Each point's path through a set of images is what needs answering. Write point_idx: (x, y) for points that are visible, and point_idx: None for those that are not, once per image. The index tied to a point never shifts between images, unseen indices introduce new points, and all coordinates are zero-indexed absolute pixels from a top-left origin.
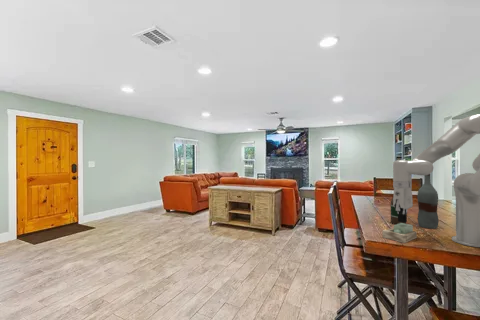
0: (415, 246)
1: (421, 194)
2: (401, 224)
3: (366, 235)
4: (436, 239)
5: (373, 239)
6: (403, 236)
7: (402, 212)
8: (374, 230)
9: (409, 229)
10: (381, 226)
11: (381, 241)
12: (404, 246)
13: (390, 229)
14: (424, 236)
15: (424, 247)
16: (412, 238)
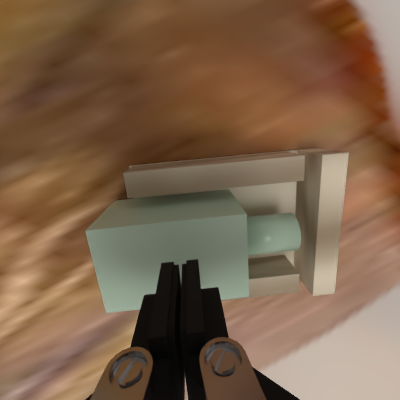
0: (331, 74)
1: None
2: None
3: (346, 316)
4: (31, 72)
5: (388, 263)
6: (341, 157)
7: (250, 388)
8: None
9: (161, 211)
10: None
11: (390, 226)
12: (384, 111)
13: None
14: (47, 155)
15: (304, 28)
16: (200, 159)
